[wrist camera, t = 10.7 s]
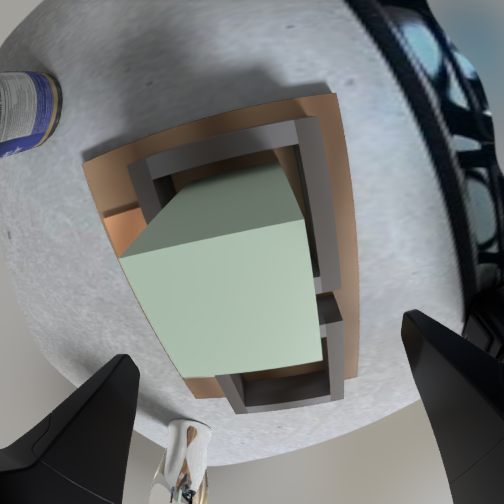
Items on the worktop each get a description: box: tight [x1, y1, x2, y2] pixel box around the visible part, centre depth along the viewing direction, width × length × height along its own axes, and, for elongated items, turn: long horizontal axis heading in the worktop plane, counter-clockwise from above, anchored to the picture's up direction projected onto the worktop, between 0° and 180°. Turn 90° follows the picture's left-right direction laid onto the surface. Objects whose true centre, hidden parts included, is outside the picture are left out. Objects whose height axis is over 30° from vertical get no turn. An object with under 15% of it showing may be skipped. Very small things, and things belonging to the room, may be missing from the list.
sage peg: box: [118, 160, 323, 377], centre depth 13 cm, size 6×6×10 cm
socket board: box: [82, 93, 359, 414], centre depth 20 cm, size 17×25×4 cm
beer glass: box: [148, 419, 212, 504], centre depth 26 cm, size 7×7×15 cm
